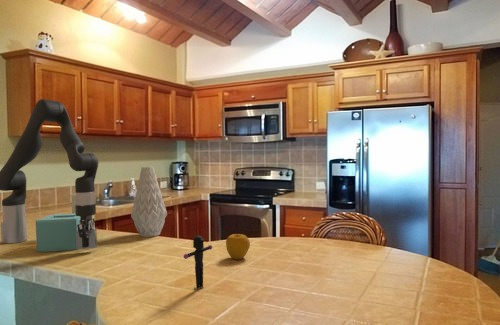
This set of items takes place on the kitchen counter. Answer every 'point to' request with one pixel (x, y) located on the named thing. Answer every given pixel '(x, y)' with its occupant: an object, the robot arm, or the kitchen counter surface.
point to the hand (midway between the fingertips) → (86, 245)
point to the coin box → (57, 232)
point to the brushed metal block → (91, 239)
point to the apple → (237, 245)
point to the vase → (148, 205)
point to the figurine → (198, 259)
